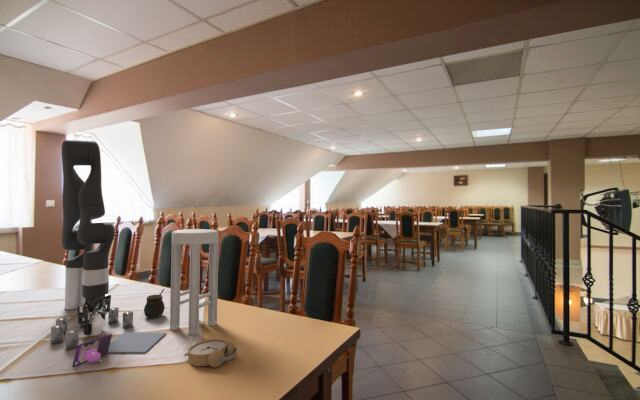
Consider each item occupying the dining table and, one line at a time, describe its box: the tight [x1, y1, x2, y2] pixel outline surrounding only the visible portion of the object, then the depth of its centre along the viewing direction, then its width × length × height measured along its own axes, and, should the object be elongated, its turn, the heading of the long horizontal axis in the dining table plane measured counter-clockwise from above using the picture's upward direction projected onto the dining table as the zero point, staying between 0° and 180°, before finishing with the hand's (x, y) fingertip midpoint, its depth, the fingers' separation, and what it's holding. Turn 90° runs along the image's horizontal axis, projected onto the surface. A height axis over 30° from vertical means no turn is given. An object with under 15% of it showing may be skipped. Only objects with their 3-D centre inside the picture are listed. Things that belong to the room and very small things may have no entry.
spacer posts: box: [50, 307, 134, 351], centre depth 110 cm, size 24×22×5 cm
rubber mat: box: [107, 332, 167, 354], centre depth 103 cm, size 14×14×1 cm
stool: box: [169, 228, 220, 336], centre depth 118 cm, size 16×16×35 cm
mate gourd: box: [143, 288, 166, 319], centre depth 127 cm, size 7×8×10 cm
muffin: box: [88, 312, 107, 337], centre depth 110 cm, size 6×6×7 cm
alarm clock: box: [184, 338, 238, 369], centre depth 94 cm, size 11×5×15 cm
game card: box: [71, 333, 113, 368], centre depth 91 cm, size 7×5×9 cm
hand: (94, 330), depth 110 cm, fingers closed on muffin, 6 cm apart
